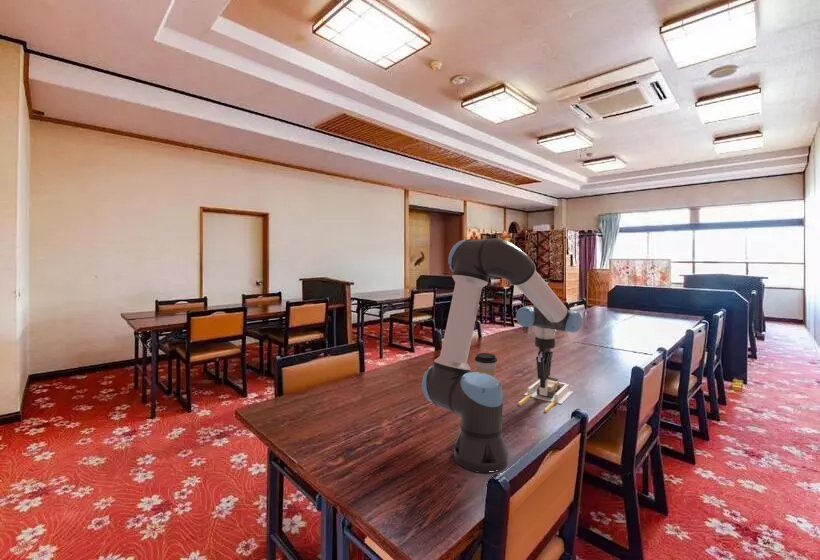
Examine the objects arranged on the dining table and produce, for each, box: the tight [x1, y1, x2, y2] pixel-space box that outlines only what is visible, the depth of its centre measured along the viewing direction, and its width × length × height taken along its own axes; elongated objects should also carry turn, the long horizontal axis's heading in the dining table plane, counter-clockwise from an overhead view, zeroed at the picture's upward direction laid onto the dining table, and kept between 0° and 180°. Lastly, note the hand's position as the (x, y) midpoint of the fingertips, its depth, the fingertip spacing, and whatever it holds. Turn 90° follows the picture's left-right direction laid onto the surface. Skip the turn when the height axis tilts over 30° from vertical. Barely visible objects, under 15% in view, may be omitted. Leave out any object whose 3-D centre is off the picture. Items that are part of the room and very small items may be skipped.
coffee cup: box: [474, 352, 498, 378], centre depth 161 cm, size 9×9×15 cm
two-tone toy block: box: [537, 376, 560, 398], centre depth 156 cm, size 11×6×6 cm, turn 142°
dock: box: [517, 379, 574, 413], centre depth 152 cm, size 27×15×3 cm, turn 142°
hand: (543, 394), depth 151 cm, fingers closed
